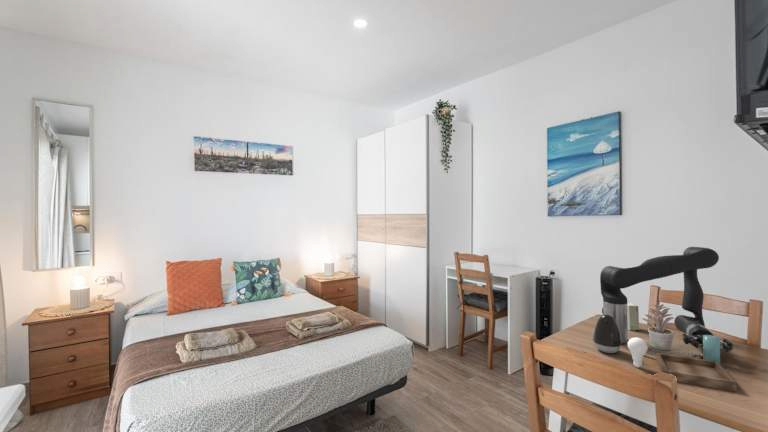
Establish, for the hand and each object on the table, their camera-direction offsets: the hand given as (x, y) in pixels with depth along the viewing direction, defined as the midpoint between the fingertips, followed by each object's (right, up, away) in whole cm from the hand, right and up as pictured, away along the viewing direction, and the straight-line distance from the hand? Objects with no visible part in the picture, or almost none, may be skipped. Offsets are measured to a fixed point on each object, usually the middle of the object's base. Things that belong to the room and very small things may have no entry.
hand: (712, 347), depth 133 cm
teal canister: (0, -6, +1) cm, 6 cm away
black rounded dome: (-32, -7, +13) cm, 35 cm away
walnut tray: (-15, -6, -9) cm, 19 cm away
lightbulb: (-30, -7, -3) cm, 31 cm away
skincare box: (-2, -6, +41) cm, 41 cm away
